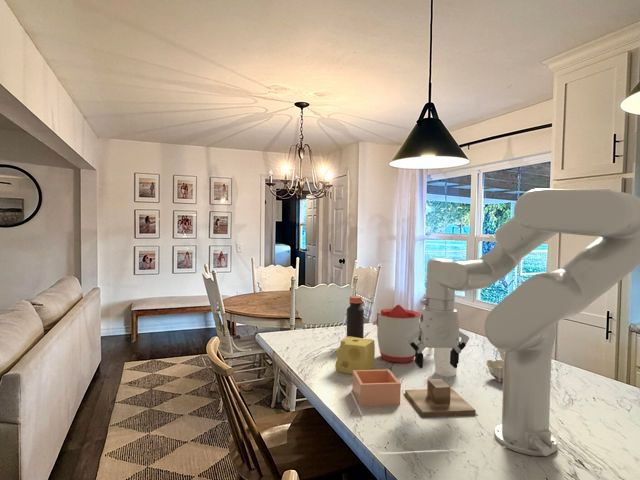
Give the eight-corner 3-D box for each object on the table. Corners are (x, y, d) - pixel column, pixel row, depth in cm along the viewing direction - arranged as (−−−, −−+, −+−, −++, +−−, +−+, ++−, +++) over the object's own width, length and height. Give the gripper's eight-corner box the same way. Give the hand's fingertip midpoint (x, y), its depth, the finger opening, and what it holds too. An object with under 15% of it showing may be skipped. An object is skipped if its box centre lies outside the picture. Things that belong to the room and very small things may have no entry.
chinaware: (496, 363, 151) (492, 318, 151) (547, 367, 143) (543, 319, 143) (485, 389, 127) (480, 335, 127) (546, 395, 118) (541, 337, 119)
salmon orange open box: (400, 405, 110) (400, 383, 110) (360, 406, 109) (360, 384, 109) (388, 389, 121) (389, 369, 121) (352, 390, 120) (352, 370, 120)
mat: (478, 416, 104) (478, 415, 104) (421, 418, 102) (421, 417, 102) (452, 392, 119) (452, 391, 119) (402, 394, 117) (402, 393, 117)
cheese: (335, 372, 135) (335, 342, 135) (348, 362, 145) (348, 334, 145) (364, 377, 130) (364, 346, 130) (375, 367, 140) (376, 338, 140)
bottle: (363, 344, 168) (364, 295, 167) (363, 348, 161) (364, 298, 161) (346, 343, 169) (347, 295, 168) (346, 348, 162) (346, 298, 161)
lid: (475, 414, 104) (475, 392, 104) (422, 416, 103) (423, 394, 103) (451, 392, 118) (452, 373, 118) (405, 394, 117) (405, 374, 117)
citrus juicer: (377, 349, 161) (378, 299, 160) (422, 355, 154) (423, 302, 154) (366, 361, 146) (367, 305, 146) (415, 368, 140) (416, 310, 139)
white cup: (459, 379, 130) (460, 348, 130) (434, 376, 132) (434, 346, 131) (456, 370, 138) (457, 341, 138) (432, 368, 139) (433, 339, 139)
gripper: (413, 307, 105) (410, 371, 106) (476, 307, 107) (473, 371, 108) (404, 301, 113) (401, 361, 114) (463, 301, 115) (460, 361, 116)
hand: (436, 366), depth 111 cm, fingers open, 9 cm apart
